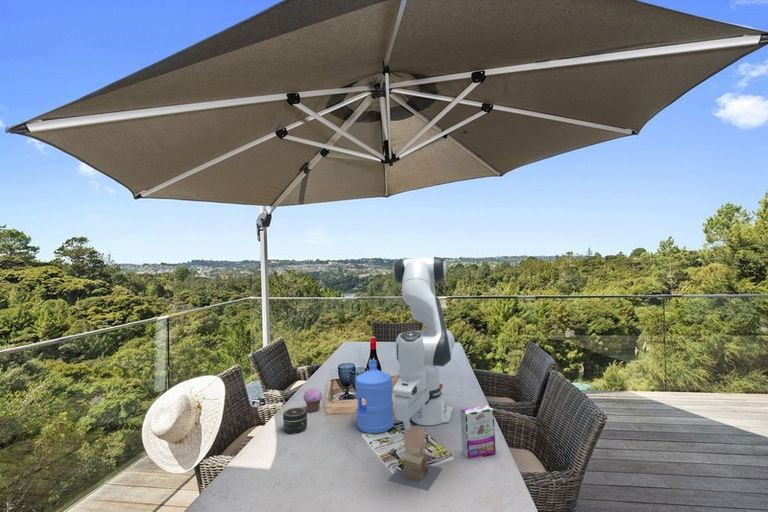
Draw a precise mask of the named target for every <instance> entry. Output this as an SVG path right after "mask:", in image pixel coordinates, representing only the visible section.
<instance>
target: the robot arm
mask: <svg viewBox="0 0 768 512" xmlns="http://www.w3.org/2000/svg"><path fill="white" fill-rule="evenodd" d="M392 270H393V271H392V274H393V278H394V280H395V281H396V282H397V283H399V284H401V296H402V300H403V301H404V303H405V304H406V305H407V306H409V307H410V315H411V317H412V318H413V319H414V320H415V321H417V322H418V323H421V324H424V326H425V329H422V330H419V329H417V330H409V331H404V332H400V333H399V334H398V335H397V336H396V339H395V349H396V360H397V362H398V364H399V365H398V366H399V370H398V378H397V380H396V383H395V384H394V386H393V387H392V395H394V399H393V411H394V416H395V419H396V420H397V421H399V422H400V421H401V422H403V424H404V431H405V430H410V429H411V425H412V423H411V422H410V421H412V422H413V423H415V424H417V425H421V426H436V425H441V424H448V423H449V422H450V420H451V416H452V414H453V410H454V408H453V407H452V406H449V405H448V398H447V397H446V396H445V395H443V392H442V389H443V387H444V385H443V383H440V369H439V368H438V367H444V366H446V365H447V364H448V363H450V362H451V360H452V356H453V349H454V347H455V343H456V341H455V337H454V334H453V333H452V332H451V331H450V330H449V329H448V328H447V327H446V323H445V317H444V312H443V309H442V304H441V301H440V299H439V297H438V296H436V289H435V288H436V287H435V285H438V284H439V283H440V282H443V281H444V279H445V276H446V275H447V265H446V262H445V261H444V259H443V257H438V256H434V257H433V256H432V257H431V256H430V257H429V256H419V257H412V258H411V257H410V258H401V259H398V260H396V262H395V263H394V265H393V269H392Z"/></svg>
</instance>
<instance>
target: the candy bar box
mask: <svg viewBox="0 0 768 512" xmlns="http://www.w3.org/2000/svg"><path fill="white" fill-rule="evenodd" d="M459 411H460V426H461V427H460V428H461V444H462V453H463V455H465V457H466V458H467V459H468V460H469V459H474V458H481V457H487V456H492V455H495V454H497V453H496V450H497V449H496V448H497V447H496V433H495V416H494V415H495V414H494V408H493V407H491V406H489V404H483V405H478V406H472V407H467V408H461V409H460V410H459Z"/></svg>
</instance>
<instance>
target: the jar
mask: <svg viewBox="0 0 768 512" xmlns="http://www.w3.org/2000/svg"><path fill="white" fill-rule="evenodd" d="M282 420H283V429H284V432H285V433H287V434H289V433H297V434H301V433H303V432H304V431H306V429H307V426H308V411H307V409H306V408H303V407H293V408H288V409H286V410H284V412H283V414H282ZM300 432H301V433H300Z"/></svg>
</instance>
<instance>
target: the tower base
mask: <svg viewBox="0 0 768 512" xmlns="http://www.w3.org/2000/svg"><path fill="white" fill-rule="evenodd" d="M402 464H403V465H404V477H407V478H411V479H415V480H419V481H421V480H422V479H423V477H424V476H425V475H426V474H427V472H428V465H429V464H428V456H426V455H425V458H424V460H423V461H422V462H421V463H420V464H415V463H411V462H406V461H405V459H404V460H403V462H402Z"/></svg>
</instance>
